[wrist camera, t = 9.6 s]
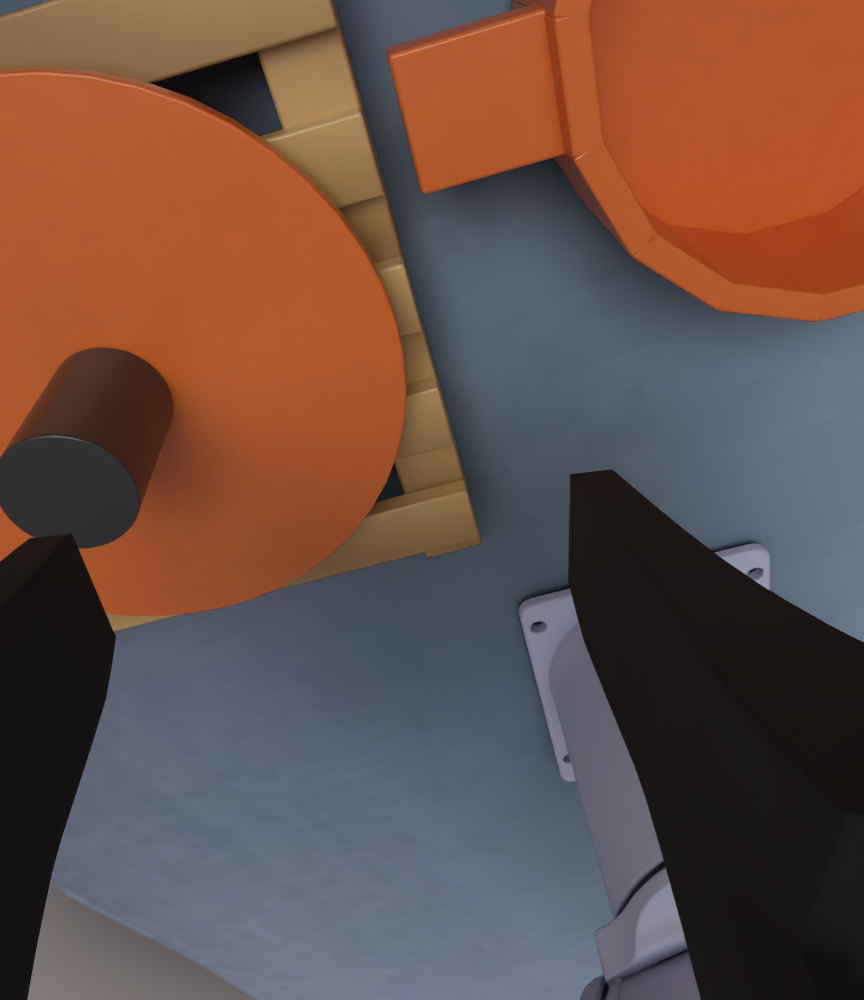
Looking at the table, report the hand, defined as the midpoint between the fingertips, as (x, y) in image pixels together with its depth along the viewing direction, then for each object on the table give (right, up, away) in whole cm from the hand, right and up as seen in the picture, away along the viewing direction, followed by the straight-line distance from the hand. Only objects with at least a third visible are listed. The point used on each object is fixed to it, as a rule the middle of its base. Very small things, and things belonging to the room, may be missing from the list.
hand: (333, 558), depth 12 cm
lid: (-5, +3, +5) cm, 8 cm away
